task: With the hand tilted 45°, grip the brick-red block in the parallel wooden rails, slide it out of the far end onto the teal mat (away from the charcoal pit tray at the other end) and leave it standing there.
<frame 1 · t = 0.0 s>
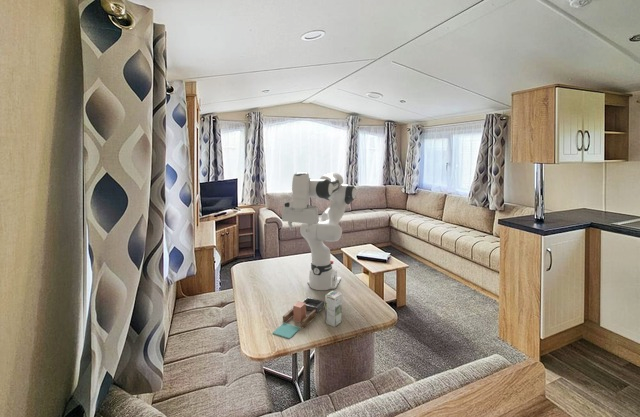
hand: (299, 231, 158), 39 cm above the table, tool pointing down, fingers open, 8 cm apart
block: (300, 318, 148), on the table
parallel wooden rails: (300, 318, 148), on the table
pit tray: (312, 307, 159), on the table
syrup box: (333, 323, 145), on the table
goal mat: (286, 331, 138), on the table
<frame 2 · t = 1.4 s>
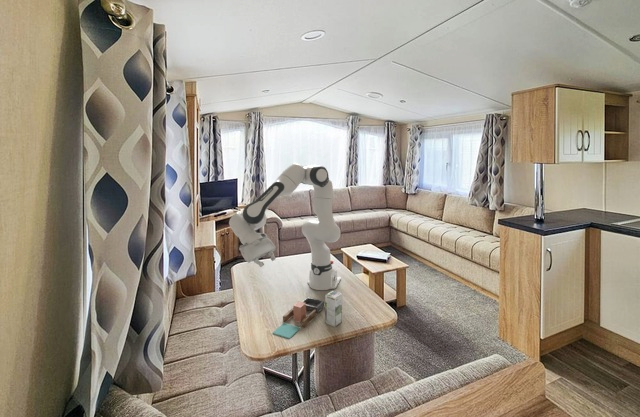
hand: (268, 262, 152), 25 cm above the table, tool tilted 45°, fingers open, 8 cm apart
nothing on the table moved.
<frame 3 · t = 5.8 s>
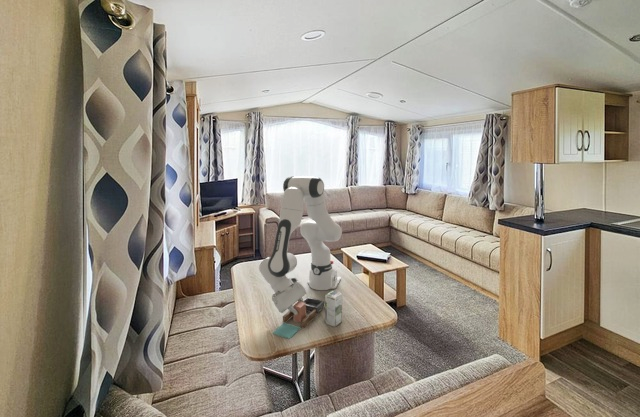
hand: (300, 310, 147), 4 cm above the table, tool tilted 45°, fingers closed on block, 5 cm apart
block: (300, 318, 148), on the table, touching gripper
everything else where it was.
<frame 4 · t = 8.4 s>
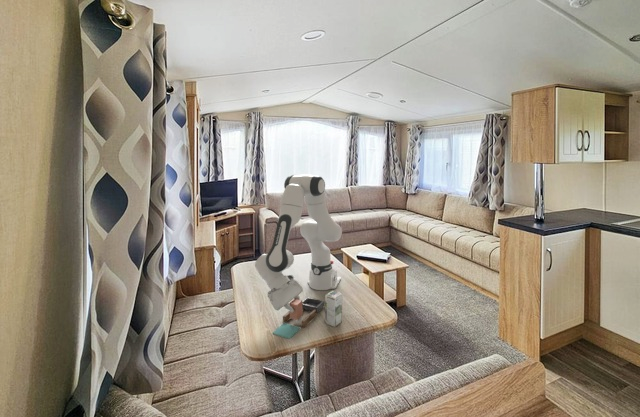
hand: (297, 308, 144), 7 cm above the table, tool tilted 45°, fingers closed on block, 5 cm apart
block: (296, 316, 145), point 3 cm above the table, touching gripper
everything else where it was.
when the fingers open (6 cm above the table, at t = 10.7 s): block stays where it is, resting on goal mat.
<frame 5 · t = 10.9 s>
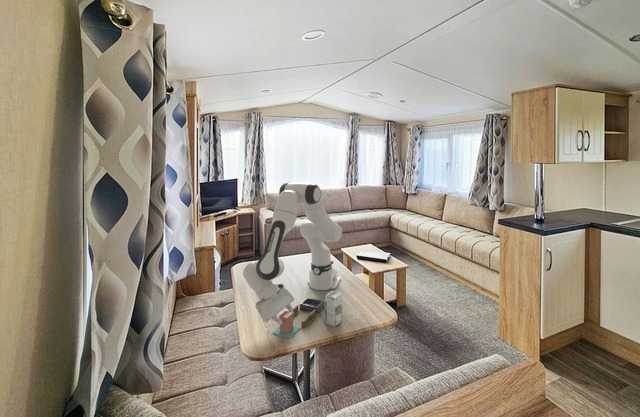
hand: (287, 319, 137), 6 cm above the table, tool tilted 45°, fingers open, 7 cm apart
block: (286, 329, 138), resting on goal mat
everything else where it was.
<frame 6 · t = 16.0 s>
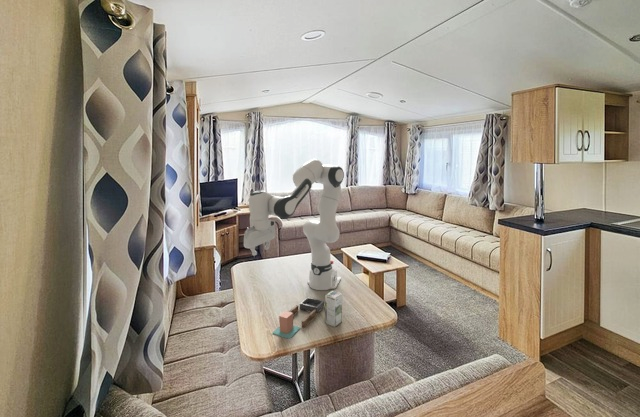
hand: (260, 252, 150), 31 cm above the table, tool pointing down, fingers open, 8 cm apart
nothing on the table moved.
at the end: block inside the target area (0.4 cm from its centre), point 0.5 cm above the table; block tilted 0°; the gripper is holding nothing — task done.
